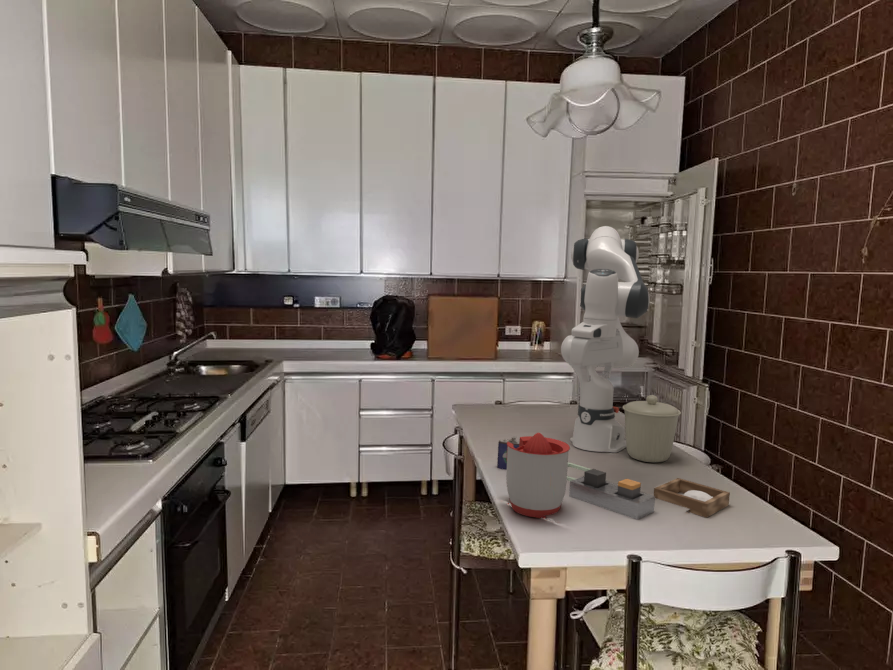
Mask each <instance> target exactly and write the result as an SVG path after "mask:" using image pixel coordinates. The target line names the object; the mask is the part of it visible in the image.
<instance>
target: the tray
mask: <svg viewBox="0 0 893 670" xmlns="http://www.w3.org/2000/svg"><path fill="white" fill-rule="evenodd" d="M569 467H571V468H573V469H577V470H580V471H583V472H585V471H588V470H591V469H592V468H589V467H587V466H582V465H579V464H576V463H573V462H569V461H568V468H569ZM575 479H576V477H572V476H568V475H567V482H568V481H569V482H570V481H572V480H575Z"/></svg>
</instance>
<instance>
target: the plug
mask: <svg viewBox="0 0 893 670" xmlns="http://www.w3.org/2000/svg"><path fill="white" fill-rule="evenodd" d="M641 484H642V482H639V481H635V480H633V479H629V478H625V479H622V480H620V481H618V482H617V485H618V492H617V495H620V496H623V497H626V498H629V499H632V500H633V499H635V498H638V497H640V492H641V489H642V487H641Z"/></svg>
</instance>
